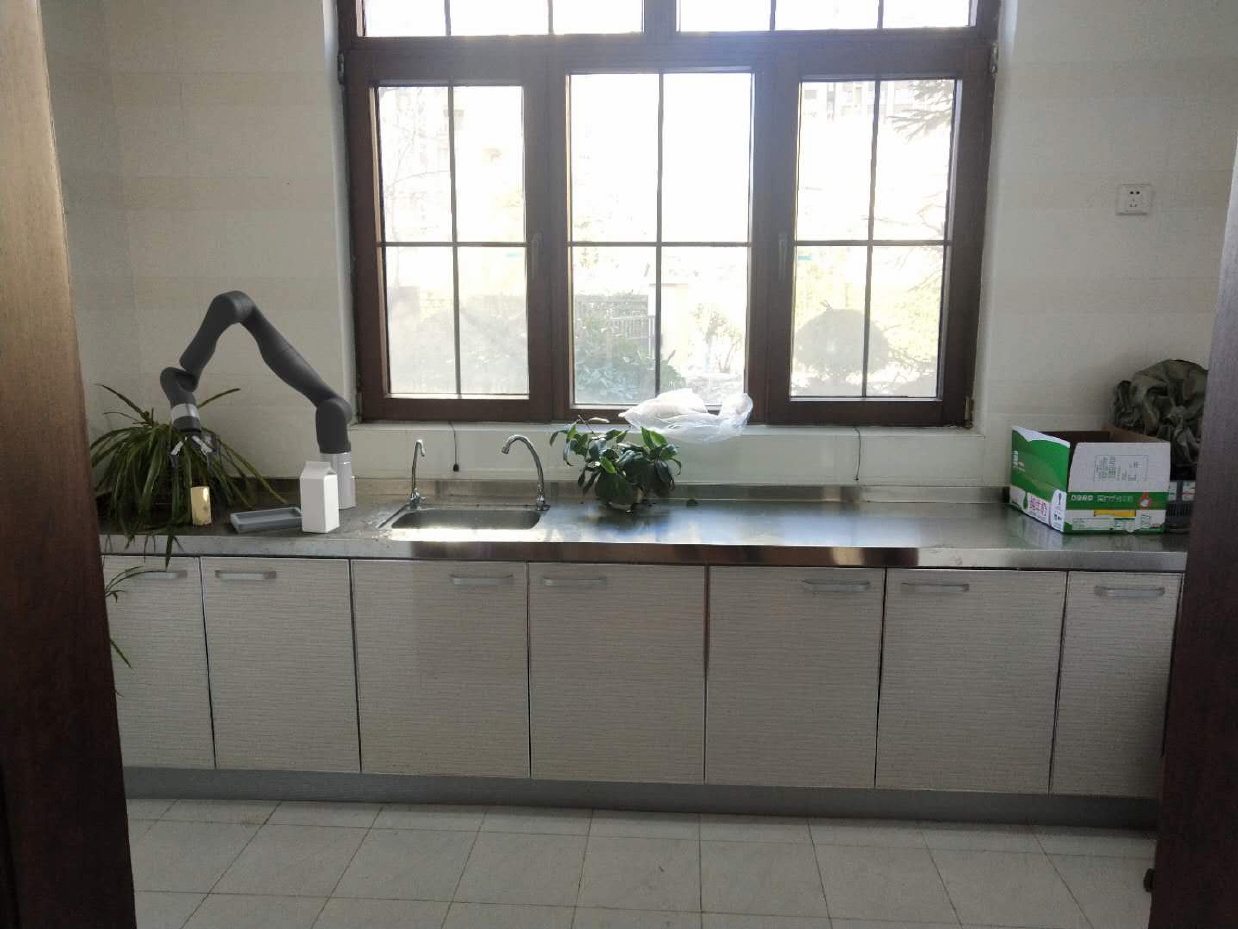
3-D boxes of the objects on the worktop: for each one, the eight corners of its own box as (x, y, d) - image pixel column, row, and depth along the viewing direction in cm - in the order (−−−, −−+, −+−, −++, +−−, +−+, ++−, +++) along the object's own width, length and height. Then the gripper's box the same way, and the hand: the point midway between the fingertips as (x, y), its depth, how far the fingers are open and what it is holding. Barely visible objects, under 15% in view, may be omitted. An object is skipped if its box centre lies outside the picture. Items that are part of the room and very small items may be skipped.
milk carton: (325, 533, 229) (322, 464, 226) (302, 531, 231) (298, 463, 227) (339, 527, 236) (336, 460, 233) (316, 525, 238) (313, 459, 234)
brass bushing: (210, 520, 241) (207, 485, 240) (212, 523, 238) (209, 488, 236) (192, 522, 239) (189, 487, 237) (194, 525, 235) (191, 490, 233)
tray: (297, 515, 249) (296, 506, 249) (308, 525, 237) (308, 516, 237) (230, 522, 239) (230, 513, 239) (239, 533, 228) (238, 524, 227)
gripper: (159, 415, 246) (166, 460, 238) (213, 413, 253) (221, 457, 246) (159, 431, 251) (165, 476, 244) (211, 428, 259) (219, 471, 251)
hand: (193, 466), depth 245 cm, fingers open, 8 cm apart
